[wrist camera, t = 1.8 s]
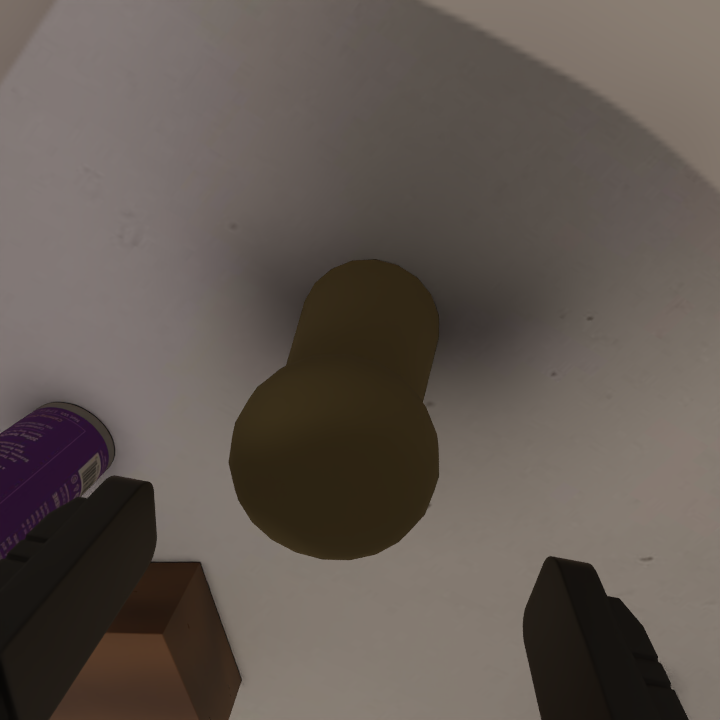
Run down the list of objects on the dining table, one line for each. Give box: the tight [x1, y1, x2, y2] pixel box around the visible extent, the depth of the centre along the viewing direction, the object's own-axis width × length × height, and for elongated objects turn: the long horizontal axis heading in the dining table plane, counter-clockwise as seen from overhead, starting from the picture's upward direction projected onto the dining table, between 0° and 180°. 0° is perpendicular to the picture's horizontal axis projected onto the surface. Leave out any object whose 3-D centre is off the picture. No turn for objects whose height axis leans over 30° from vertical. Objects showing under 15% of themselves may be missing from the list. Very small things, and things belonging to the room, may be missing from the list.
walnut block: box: [49, 563, 241, 720], centre depth 28 cm, size 11×11×4 cm
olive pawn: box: [229, 259, 439, 560], centre depth 15 cm, size 6×6×11 cm
